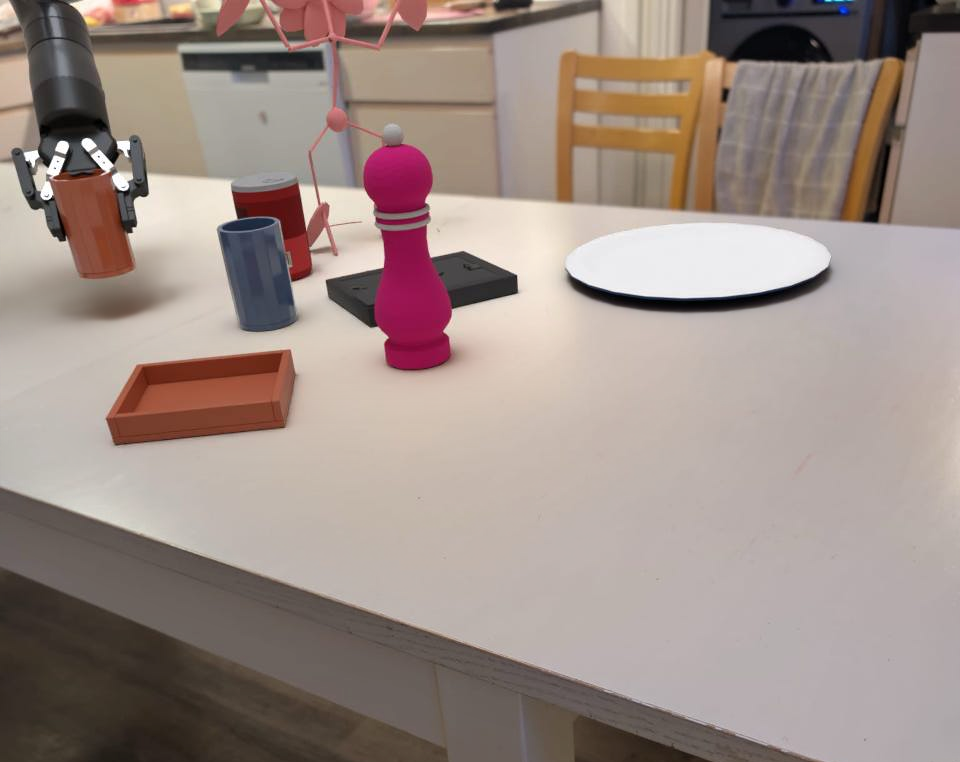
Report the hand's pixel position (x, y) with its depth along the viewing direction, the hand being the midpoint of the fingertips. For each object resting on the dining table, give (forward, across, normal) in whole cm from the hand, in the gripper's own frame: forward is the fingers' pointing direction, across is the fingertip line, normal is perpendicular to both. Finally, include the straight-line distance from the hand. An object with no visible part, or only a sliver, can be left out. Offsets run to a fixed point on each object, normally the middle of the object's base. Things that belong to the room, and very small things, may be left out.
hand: (94, 233), depth 102 cm
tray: (+29, +9, -17) cm, 35 cm away
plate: (+18, +64, -5) cm, 67 cm away
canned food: (+1, +20, +12) cm, 23 cm away
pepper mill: (+27, +29, -14) cm, 42 cm away
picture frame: (+13, +34, 0) cm, 36 cm away
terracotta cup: (+2, 0, +4) cm, 5 cm away
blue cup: (+14, +16, -1) cm, 21 cm away
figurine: (-8, +30, +21) cm, 37 cm away
